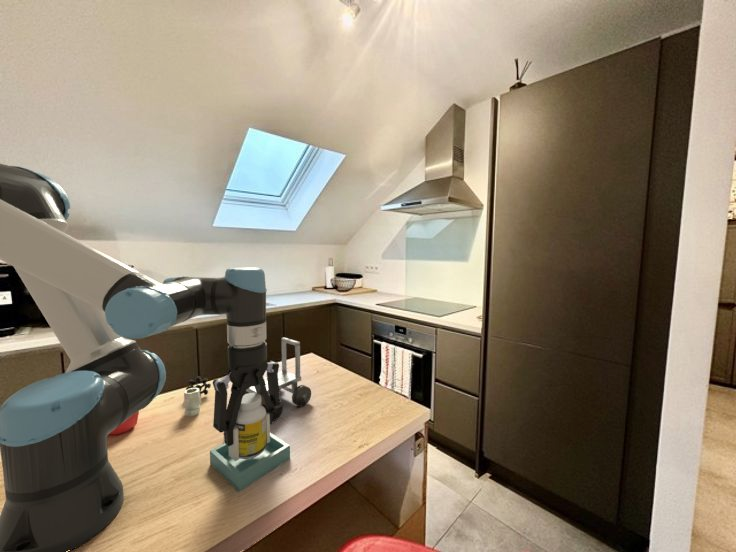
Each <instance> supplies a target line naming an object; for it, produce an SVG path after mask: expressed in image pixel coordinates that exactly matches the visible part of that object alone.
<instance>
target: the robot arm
mask: <svg viewBox="0 0 736 552" xmlns="http://www.w3.org/2000/svg"><path fill="white" fill-rule="evenodd" d="M69 209H71V203H70V199H69V197H68V194H67V193H66V191H65V190H64V189H63V187H62V186H61V185H60V184H59V183H57V182H56V181H55V180H54V179H53V178H50V176H46V175H45V174H42V173H40V172H35V171H34V170H31V169H28V168H25V167H22V166H18V165H17V166H16V165H9V164H4V163H0V261H2V262H4V263H6V264H8V265H11V266H12V267H13V268H14V269H15V272H16V273H17V274H18V276H19V278H20V279H21V281H22V283H23V284H24V286H25V287H26V289H27V292H29V294H30V296H31V297H32V299H33V301H34V302H35V304H36V306H37V307H38V309H39V310H40V312H41V314H42V316H43V317H44V318H45V320H46V322H47V323H48V325H49V327H50V328H51V330H52V332H53V334H54V335H55V337H56V338H57V341H58V342H59V343H60V345H61V346H62V348H63V350H64V352H65V353H66V355H67V356H68V359H69V360H70V363H69V364H68V367H67V369H66V371H65V372H63V373H58V374H55V376H53V377H45V378H43V379H40V380H37V381H35V382H33V383H31V384H28V385H26V386H25V387H23V388H21V389H19V390H17V391H16V392H14V393H13V394H12V395H10V396H9V397H8V398H7V399H6V400H5V401H4V402H3V403H2V404H1V406H0V458H1V467H2V474H3V485H4V494H5V500H4V504H3V507H2V509H1V512H0V552H66V551H68V550H71V549H73V550H75V549H77V548H78V546H79V547H80V546H82V545H84V544H85V543H87V542H88V541H90V540H91V539H92V538H94V537H95V536H96V535H98V534H99V533H100V532H101V531H103V530H104V529H105V528H106V527H107V526H108V525H109V524H110V523H111V522H112V521H113V520H114V518H116V516H117V515H118V513H119V512H120V511H121V508H122V506H123V504H124V500H125V499H124V498H125V495H124V485H123V483H122V480H121V479H120V477H119V476H118V474H117V472H116V471H115V468H114V467H113V466H112V464H111V462H110V461H109V454H108V442H107V441H108V439H107V437H108V435H109V433H111V432H112V431H113V430H114V429H116V428H117V427H118V426H120V425H121V424H122V423H124V422H125V421H126V420H127V419H129V418H130V417H131V416H133V415H134V414H135V413H137V412H138V411H139V412H140V411H141V410H143V409H145V408H147V407H148V406H149V405H150V404H151V403H152V401H153V400H154V399H156V397H157V396H159V394H160V393H161V391H162V390H163V388H164V386H165V383H166V378H167V372H166V367H165V366H166V365H165V364H164V362H163V361H162V359H161V358H160V357H159V356H158V355H157V354H156V353H154V352H150V350H146V349H141V347H140V346H139V344H138V343H137V341H136V340H139V339H143V338H147V337H150V336H153V335H158V334H161V333H163V332H165V331H167V330H168V329H170V328H172V327H174V326H176V325H179V324H181V323H183V322H186V321H189V320H191V319H193V318H195V317H197V316H203V315H204V316H209V315H210V316H211V315H212V316H213V315H216V316H217V315H218V316H219V315H220V316H221V315H222V316H224V315H226V335H227V336H226V337H227V343H228V344H229V345H227V363H228V369H227V372H226V375H225V376H223V377H221V378H220V379H219V378H215V379H213V381H212V385H213V388H214V389H213V390H214V391H215V392H214V405H213V406H214V409H213V420H212V421H213V425H212V427H213V428H214V429H215V430H216V431H218V432H219V433H223V440H224V443H225V444H226V445H228V448H229V456H230V457H231V458H232V459H233V460H235V461H237V460H239V437H238V428H237V427H235V423H236V420H237V416H238V412H239V409H240V405H241V401H242V398H243V396H244V395H245V392H246V389H248V388H250V387H251V386H254V387H255V389H256V392H257V393H258V394H260V395H261V404H262V406H263V407H264V408H265V410H266V443H269V442H270V433H271V425H273V419H272V413H274V412H275V411H276V409H275V408H274V407H276V406H279V405H280V401H281V396H280V390H279V383H278V372H279V370H280V364H279V363H278V362H276V361H273V360H269V362H268V361H267V358H268V343H267V342H266V340H267V291H268V290H267V288H266V286H267V285H266V276H265V271H264V270H263V269H262V268H259V267H252V266H251V267H249V266H248V267H229V268H227V269H225V271H224V272H225V273H224V274H225V275H224V276H223V277H200V276H199V277H194V276H193V277H191V276H177V277H167V278H165V279H164V280H163V282H159V281H157V280H155V279H153V278H152V277H150V276H147V275H145V274H143V273H141V272H140V271H139V270H136V269H134V268H132V267H131V266H128V265H127V264H124V263H122V261H119V260H117V259H115V258H113V257H111V256H109V255H108V254H105V253H103V252H102V251H100V250H98V249H96V248H94V247H92V246H90V245H88V244H87V243H84V242H83V241H81V240H78V238H75V237H73V236H71V235H69V234H67V233H66V231H67V230H68V228H69V224H68V222H67V220H68V219H69V216H70V212H69ZM265 373H266V376H267V381H268V391H269V394H268V392H267V389H266V386H265V385H266V384H265V381H264V378H263V377H264V375H265ZM230 382H231V383H232V384H231V388H230V396H229V400H228V389H229V387H230V386H229V383H230ZM76 547H77V548H76ZM74 548H75V549H74Z"/></svg>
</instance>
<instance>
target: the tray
mask: <svg viewBox="0 0 736 552" xmlns="http://www.w3.org/2000/svg"><path fill="white" fill-rule="evenodd" d="M290 459H291V445H290V444H289V443H287V442H285V441H284V440H282V439H281V438H280V437H278V436H276V435H275V434H273V433H271V432H270V442H269V443H266V448H265V450H264V451H263V452H262V453H261V454H260V455H258V456H256V457H254V458H251V459H240V458H239V460H237V461H235V460H233V459H232V458H231V457H230V456H229V448H228V445H226V444H225V442H224V443H222V444H220V445H218V446H216V447H214V448H213V449H211V450H209V463H210V464H209V465H211V466H212V467H213V468H214V469H215V470H216V471H217V472H218V473H219V474H220V475H221V476H222V477H223V478H224V479H225V480H226V481H227V482H228V483H229V484H230V485H231V486H233V488H235V490H237V491H238V492H241V491H242V490H244V489H246V488H247V487H249V486H250V485H252V484H254V483H255V482H256V481H258V480H260V479H261V478H263V477H264V476H265V475H267V474H269V473H270V472H272V471H273V470H275V469H276V468H277V467H279V466H281V465H282V464H284V463H285V462H287V461H289V460H290Z"/></svg>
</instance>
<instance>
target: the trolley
mask: <svg viewBox="0 0 736 552" xmlns="http://www.w3.org/2000/svg"><path fill="white" fill-rule="evenodd" d="M287 344H288V345H292V346H294V352H295V353H294V356H295V359H294V360H295V361H294V363H295V367H294V368H295V369H294V370H295V373H294V372H291V371H290V370H287V369H288V368H287V363H288V361H287ZM263 378H264V381H265V384H266V385H265V386H266V389H267V392H268V394H269V391H268V381H267V375H266V376H263ZM301 381H302V376H301V342H300V341H298V340H294V339H291V338H288V337H285V336H284V337H281V370H280V371H278V383H279V391H281V389H282V390H284V391H287V392H289V393H291V394H292V396H291V401H292V404H293V405H295V406H298V407H300V408H302V407H305V406H306V405H307V404H308V403H309V402H310V400H311V397H312V390H311V388H310V387H309V386H306V385H304V384H300V385H298V383H299V382H301ZM289 386H291V387H289ZM248 393H257V392H256V389H255V387H254V386H251V387H250V388H248V389H246V392H245V394H248ZM260 405H262V404H260ZM274 408H275V409H276V411H275V412H274V413H272V419H273V422H275V421H277V420H278V419H279V418H280V417H281V415H282V413H283V409H284V405H283V402H282V401H281V400H280V405H279V406H276V407H274ZM273 422H272V423H273Z"/></svg>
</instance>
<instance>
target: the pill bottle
mask: <svg viewBox="0 0 736 552" xmlns="http://www.w3.org/2000/svg"><path fill="white" fill-rule="evenodd" d="M260 404H261V395H260V394H258V393H248V394H245V395H244V396H243V398H242V401H241V405H240V409H239V412H238V416H237V420H236V423H235V427H237V428H238V437H239V458H240V459H251V458H254V457H256V456H258V455H260V454H261V453H262V452H263V451H264V450H265V448H266V410H265V408H264V407H263V406H262V405H260Z"/></svg>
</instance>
